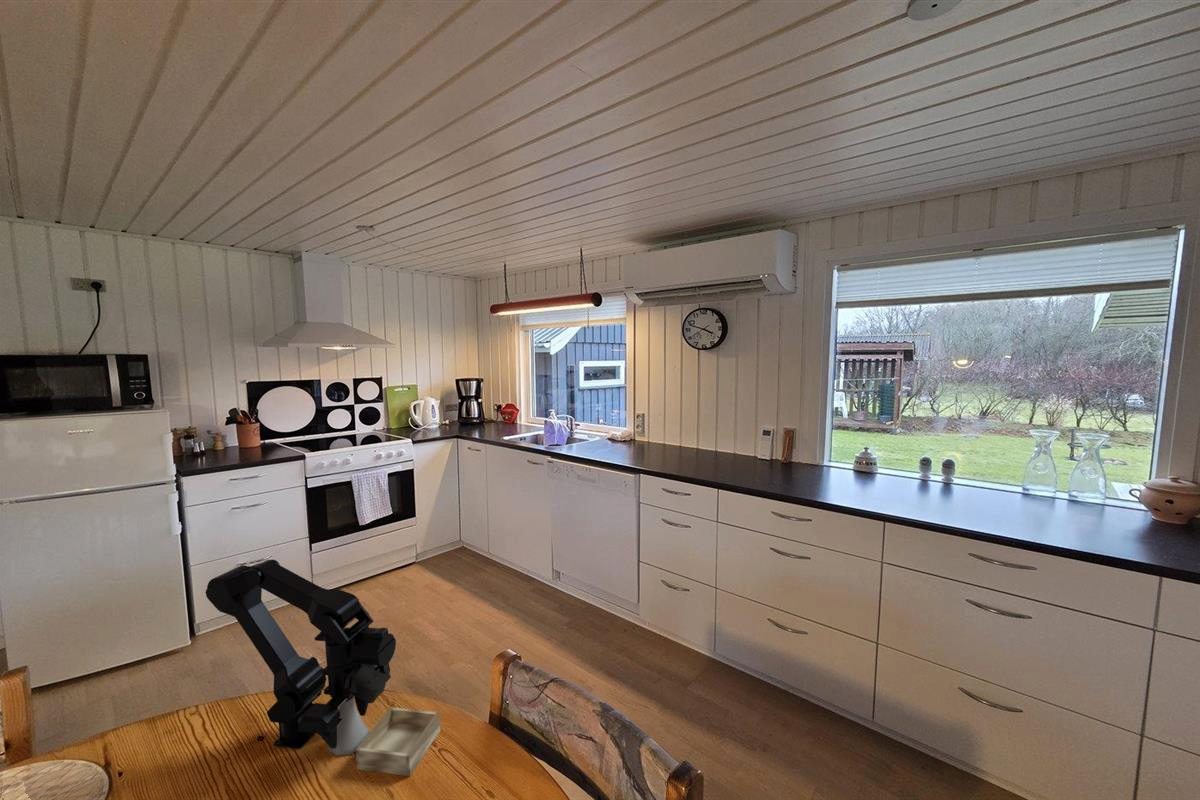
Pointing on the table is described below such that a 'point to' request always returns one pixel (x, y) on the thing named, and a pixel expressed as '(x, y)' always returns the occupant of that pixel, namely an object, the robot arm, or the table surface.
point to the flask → (349, 729)
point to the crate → (398, 741)
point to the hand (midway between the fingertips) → (348, 730)
